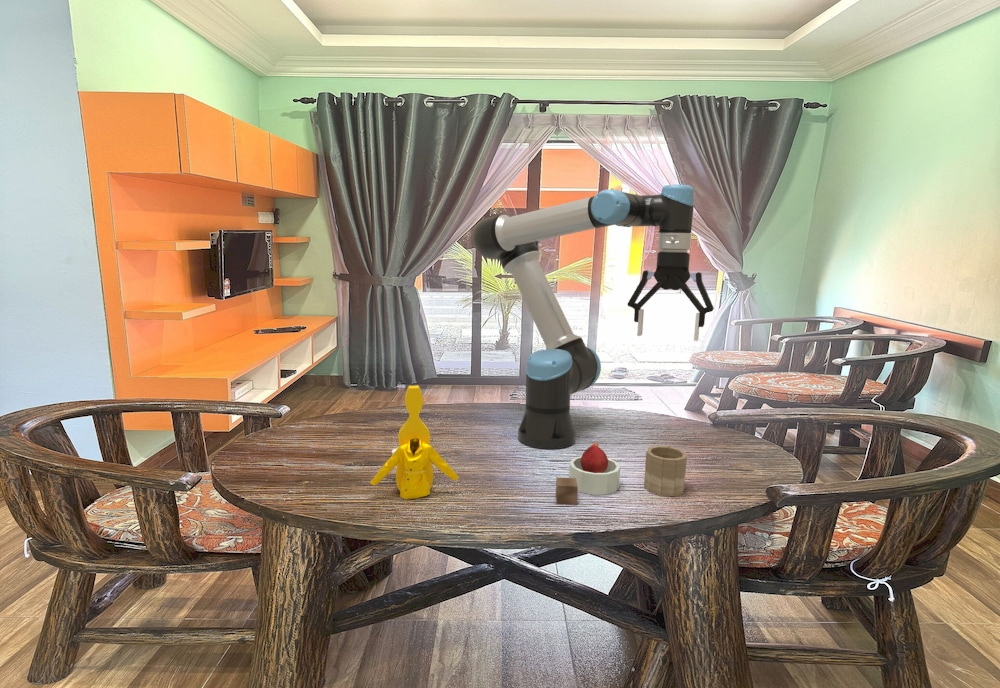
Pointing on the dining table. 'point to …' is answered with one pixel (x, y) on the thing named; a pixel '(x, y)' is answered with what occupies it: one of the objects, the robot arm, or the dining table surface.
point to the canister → (665, 470)
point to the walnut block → (566, 491)
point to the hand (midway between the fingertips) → (667, 337)
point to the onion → (594, 459)
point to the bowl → (595, 478)
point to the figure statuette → (414, 453)
